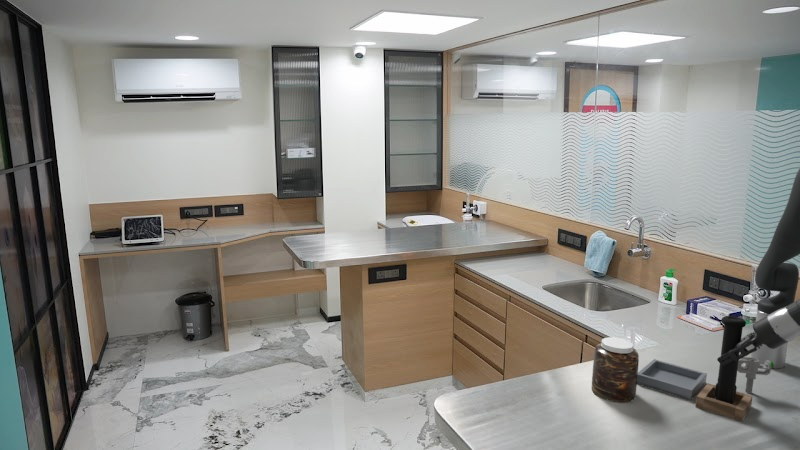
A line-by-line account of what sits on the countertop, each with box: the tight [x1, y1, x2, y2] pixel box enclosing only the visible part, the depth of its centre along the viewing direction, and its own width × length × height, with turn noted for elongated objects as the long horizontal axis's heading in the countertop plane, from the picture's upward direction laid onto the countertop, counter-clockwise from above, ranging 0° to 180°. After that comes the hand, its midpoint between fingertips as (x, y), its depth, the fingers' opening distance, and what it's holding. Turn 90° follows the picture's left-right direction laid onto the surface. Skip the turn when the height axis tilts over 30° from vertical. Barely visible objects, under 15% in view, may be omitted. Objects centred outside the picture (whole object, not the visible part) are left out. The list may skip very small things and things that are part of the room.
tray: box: [637, 358, 708, 401], centre depth 165 cm, size 15×15×3 cm
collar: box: [695, 383, 753, 422], centre depth 151 cm, size 11×11×3 cm
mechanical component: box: [737, 356, 774, 395], centre depth 159 cm, size 3×10×10 cm, turn 78°
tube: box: [715, 315, 747, 405], centre depth 149 cm, size 25×6×6 cm
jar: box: [591, 336, 640, 403], centre depth 157 cm, size 12×12×15 cm
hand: (723, 357), depth 150 cm, fingers open, 8 cm apart
